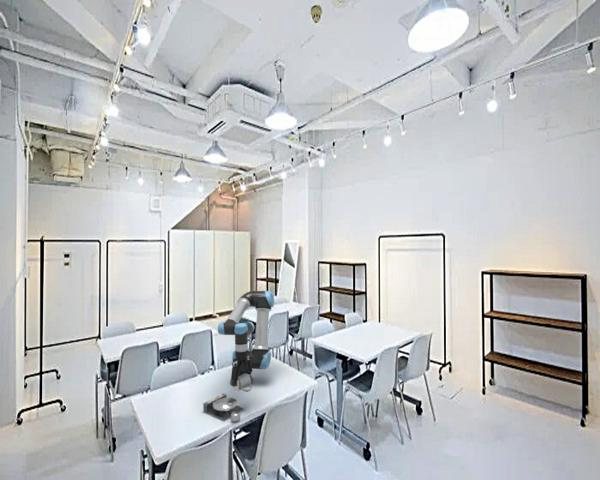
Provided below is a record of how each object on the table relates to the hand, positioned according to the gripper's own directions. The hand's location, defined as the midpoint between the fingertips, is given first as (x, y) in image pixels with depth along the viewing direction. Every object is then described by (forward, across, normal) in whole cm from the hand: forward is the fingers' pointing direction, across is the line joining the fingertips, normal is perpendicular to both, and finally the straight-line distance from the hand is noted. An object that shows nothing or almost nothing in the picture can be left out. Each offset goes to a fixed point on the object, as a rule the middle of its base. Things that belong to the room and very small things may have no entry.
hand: (242, 387), depth 195 cm
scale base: (+12, +8, -8) cm, 17 cm away
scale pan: (+10, +8, -6) cm, 14 cm away
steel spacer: (+12, +11, +6) cm, 18 cm away
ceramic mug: (0, 0, +1) cm, 1 cm away
